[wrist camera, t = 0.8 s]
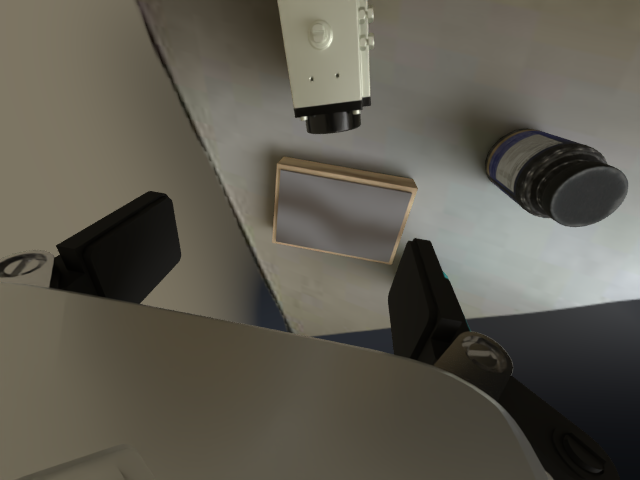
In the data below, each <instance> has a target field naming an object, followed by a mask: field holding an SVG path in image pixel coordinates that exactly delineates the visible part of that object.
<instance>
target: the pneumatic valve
mask: <svg viewBox="0 0 640 480" xmlns="http://www.w3.org/2000/svg"><path fill="white" fill-rule="evenodd" d="M277 2H278V9H279V15H280V22H281V28H282V35H283V41H284V48H285V54H286V61H287V67H288V74H289V80H290V87H291V93H292V100H293V106H294V112H295V118H297V117H300V119H301V121H303V120H305V121H306V128H307V132H308V133H311V134H328V133H337V132H343V131H348V130H352V129H355V128H358V127H359V126H360V125H361V118H360V113H361V112H360V110H362V107H363V106H371V99H370V64H369V50H372V49H373V48H374V34H373V33H369V28H368V23H372V22H373V6H372V5H368V0H277Z"/></svg>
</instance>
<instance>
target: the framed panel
mask: <svg viewBox="0 0 640 480" xmlns="http://www.w3.org/2000/svg"><path fill="white" fill-rule="evenodd" d="M417 190H418V188H417V186H416V184H415V182H414V180H413V179H409V178H403V177H398V176H392V175H386V174H381V173H375V172H369V171H364V170H358V169H352V168H347V167H341V166H335V165H330V164H324V163H318V162H313V161H307V160H301V159H295V158H290V157H283V158H282V159H281V160H280V161H279V162H278V163H277V172H276V189H275V206H274V224H273V241H272V243H278V244H283V245H288V246H294V247H299V248H304V249H310V250H315V251H321V252H326V253H331V254H337V255H342V256H347V257H353V258H358V259H363V260H369V261H374V262H380V263H385V264H390V265H392V262H393V259H394V256H395V253H396V250H397V247H398V245H399V242H400V239H401V236H402V233H403V230H404V227H405V224H406V221H407V218H408V216H409V213H410V210H411V207H412V204H413V201H414V198H415V195H416V192H417Z"/></svg>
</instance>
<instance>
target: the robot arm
mask: <svg viewBox="0 0 640 480" xmlns="http://www.w3.org/2000/svg"><path fill="white" fill-rule="evenodd" d="M56 247H57V249H58V251H59V253H60V255H58V256H57V257H55V258H54V256H53V254H51V253H50V252H47V251H41V250H32V251H24V252H19V253H15V254H12V255H9V256H6V257H3V258H1V259H0V480H620V478H619V475H618V473H617V470H616V467H615V466H614V464H613V462H612V461H611V459H610V458H609V456H608V455H607V454H606V452H605V451H604V450H603V449H602V448H601V447H600V446H599V444H598V443H597V442H595V441H594V440H593V439H592V438H591V437H590V436H589V435H587V434H586V433H585V432H584V431H582V430H581V429H580V428H578V427H577V426H576V425H574V424H573V423H572V422H571V421H569V420H568V419H567V418H565V417H564V416H563V415H562V414H560V413H559V412H558V411H556V410H555V409H554V408H552V407H551V406H550V405H549V404H547V403H546V402H545V401H543V400H542V399H541V398H540V397H538V396H537V395H536V394H534V393H533V392H532V391H530V390H529V389H528V388H527V387H525V386H524V385H523V384H522V383H520V382H519V381H518V380H516V379H515V378H514V377H512V376H511V374H512V371H513V364H512V360H511V358H510V357H509V355H508V353H507V352H506V351H505V350H504V349H503V348H502V347H501V345H499V344H498V343H497V342H495V341H494V340H493V339H491V338H489V337H487V336H485V335H483V334H480V333H477V332H470V329H469V327H468V324H467V322H466V319H465V317H464V315H463V312H462V310H461V307H460V305H459V302H458V300H457V298H456V295H455V293H454V290H453V288H452V285H451V283H450V281H449V279H447V278H445V276H444V274H443V271H442V269H441V266H440V264H439V261H438V259H437V256H436V254H435V251H434V249H433V246H432V243H431V242H430V241H428V240H423V239H417V238H415V239H413V241H408V242H407V244H406V247H405V250H404V253H403V255H402V258H401V261H400V264H399V266H398V269H397V272H396V275H395V278H394V280H393V283H392V286H391V289H390V291H389V295H388V305H389V314H390V323H391V332H392V340H393V349H394V355H393V354H388V353H384V352H380V351H376V350H372V349H367V348H362V347H356V346H352V345H347V344H343V343H338V342H333V341H328V340H323V339H318V338H313V337H308V336H303V335H298V334H293V333H288V332H282V331H277V330H272V329H268V328H262V327H257V326H252V325H247V324H241V323H237V322H231V321H226V320H221V319H216V318H211V317H206V316H201V315H195V314H190V313H185V312H179V311H174V310H169V309H164V308H158V307H153V306H148V305H143V304H140V303H141V302H142V301H143V300H144V298H146V297H147V295H148V294H149V293H150V292H151V291H152V290H153V289H154V288H155V287H156V286H157V285H158V284H159V283H160V282H161V280H162V279H163V278H164V277H165V276H166V275H167V274H168V273H169V272H170V271H171V270H172V269H173V268H174V266H175V265H176V264H177V263H178V262H179V261H180V258H181V250H180V244H179V238H178V232H177V226H176V220H175V215H174V209H173V203H172V200H171V199H170V198H169V197H168V196H167V195H166V194H164V193H158V192H153V191H149V192H147V193H145V194H143V195H141V196H140V197H138V198H136V199H135V200H133V201H131V202H130V203H128V204H126V205H125V206H123V207H121V208H119V209H118V210H116V211H114V212H113V213H111V214H109V215H107V216H106V217H104V218H102V219H101V220H99V221H97V222H95V223H94V224H92V225H90V226H89V227H87V228H85V229H83V230H82V231H80V232H78V233H77V234H75V235H73V236H72V237H70V238H68V239H66V240H65V241H63V242H61V243H60V244H58V245H56Z"/></svg>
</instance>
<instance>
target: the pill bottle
mask: <svg viewBox="0 0 640 480" xmlns="http://www.w3.org/2000/svg"><path fill="white" fill-rule="evenodd" d="M486 172H487V175H488V178H489V179H490V181H491V182H492V183H494V184H495V185H496V186H497V187H498V188H499V189H501V190H502V191H503V192H504V193H505V194H507V195H508V196H509V197H510V198H511V199H513V200H514V201H515V202H516V203H518V204H519V205H520V206H521V207H522V208H523V209H524V210H526V211H527V212H529V213H531V214H533V215H535V216H538V217H542V218H552V219H553V220H555V221H556V222H558V223H559V224H562V225H564V226H569V227H582V226H587V225H590V224H594V223H596V222H599V221H601V220H603V219H604V218H606V217H608V216H609V215H610V214H612V213H613V212H614V211H615V210H616V209H617V208H618V207H619V206H620V205H621V203H622V202H623V201H624V199H625V197H626V195H627V191H628V181H627V178H626V176H625V175H624V174H623V173H622V172H621V171H620V170H618V169H617V168H615V167H612V166H610V165H607V162H606V160H605V158H604V156H602V154H601V153H600V152H598V151H597V150H595V149H594V148H591V147H589V146H587V145H583V144H579V143H576V142H573V141H570V140H567V139H564V138H561V137H558V136H554V135H551V134H548V133H545V132H542V131H538V130H533V129H521V130H517V131H514V132H512V133H510V134H508V135H506V136H504V137H503V138H501V139H500V140H499V141H498V142H497V143H496V144H495V145H494V146H493V147H492V149H491V150H490V152H489V154H488V156H487V159H486Z"/></svg>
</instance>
